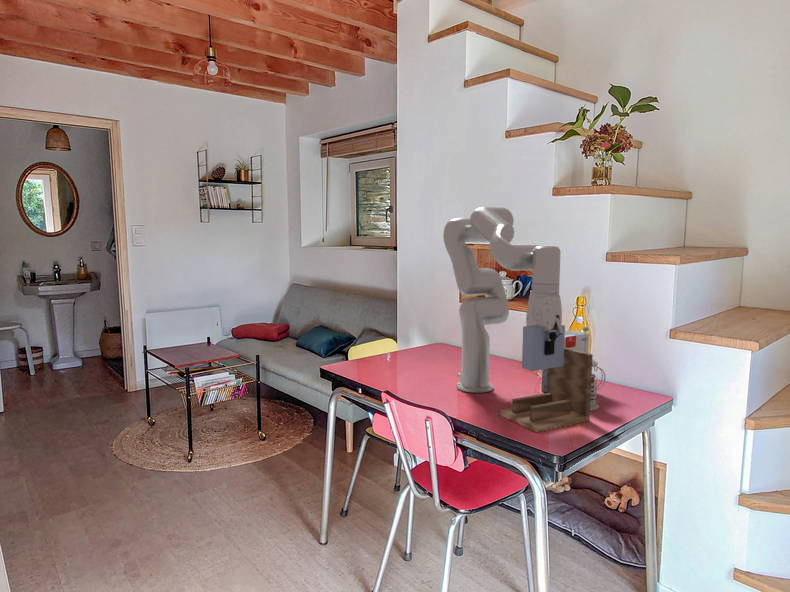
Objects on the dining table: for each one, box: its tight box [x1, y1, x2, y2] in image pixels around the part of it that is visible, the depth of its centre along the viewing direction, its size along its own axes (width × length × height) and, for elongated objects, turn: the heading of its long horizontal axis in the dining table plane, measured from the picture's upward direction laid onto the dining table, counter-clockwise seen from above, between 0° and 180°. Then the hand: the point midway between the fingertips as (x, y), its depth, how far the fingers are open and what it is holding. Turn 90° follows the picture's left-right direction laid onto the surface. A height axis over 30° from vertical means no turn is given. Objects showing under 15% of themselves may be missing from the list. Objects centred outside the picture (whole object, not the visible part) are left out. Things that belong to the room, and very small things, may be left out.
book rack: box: [498, 347, 593, 433], centre depth 155 cm, size 16×20×20 cm
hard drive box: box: [540, 330, 590, 393], centre depth 183 cm, size 16×8×20 cm, turn 126°
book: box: [521, 324, 566, 372], centre depth 153 cm, size 4×12×12 cm, turn 117°
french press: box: [581, 326, 606, 411], centre depth 167 cm, size 10×12×25 cm
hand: (543, 352), depth 154 cm, fingers closed on book, 4 cm apart
